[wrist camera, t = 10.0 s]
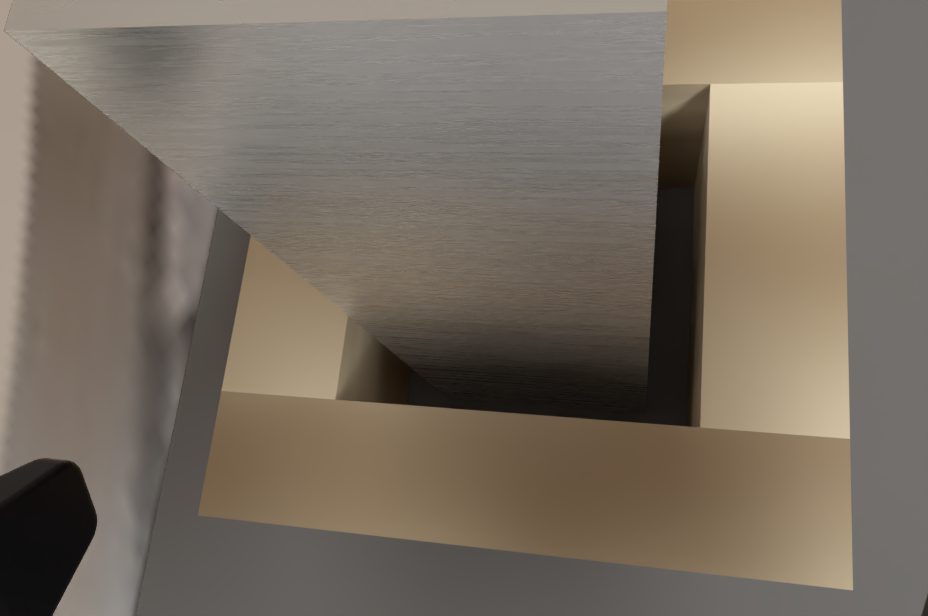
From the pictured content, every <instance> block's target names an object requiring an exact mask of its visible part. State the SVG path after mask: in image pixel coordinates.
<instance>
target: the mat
mask: <svg viewBox="0 0 928 616" xmlns="http://www.w3.org/2000/svg"><path fill="white" fill-rule="evenodd" d="M841 8H842V58H843V108H844V159H845V209H846V260H847V310H848V361H849V411H850V461H851V512H852V562H853V590H845V589H836V588H827V587H818V586H810V585H801V584H792V583H783V582H775V581H766V580H757V579H748V578H740V577H731V576H722V575H714V574H705V573H696V572H687V571H679V570H670V569H661V568H652V567H644V566H635V565H626V564H618V563H609V562H600V561H591V560H583V559H574V558H565V557H556V556H548V555H539V554H530V553H521V552H513V551H504V550H495V549H487V548H478V547H469V546H460V545H452V544H443V543H434V542H425V541H417V540H408V539H399V538H390V537H382V536H373V535H364V534H356V533H347V532H338V531H329V530H321V529H312V528H303V527H294V526H286V525H277V524H268V523H259V522H251V521H242V520H233V519H225V518H216V517H207V516H198V511H199V506H200V501H201V496H202V490H203V485H204V480H205V475H206V469H207V464H208V459H209V453H210V448H211V443H212V438H213V432H214V427H215V422H216V417H217V411H218V406H219V401H220V395H221V390H222V385H223V380H224V374H225V369H226V364H227V359H228V353H229V348H230V343H231V337H232V332H233V327H234V322H235V316H236V311H237V306H238V301H239V295H240V290H241V285H242V279H243V274H244V269H245V264H246V258H247V253H248V248H249V243H250V237H251V235H250V234H249V233H248V232H246V231H245V230H244V229H243V228H242V227H240V226H239V225H238V224H237V223H235V222H234V221H233V220H232V219H231V218H229V217H228V216H227V215H226V214H225V213H223V212H222V211H221V210H220V209H219V208H218V213H217V218H216V223H215V227H214V232H213V237H212V242H211V247H210V252H209V257H208V262H207V267H206V272H205V277H204V282H203V287H202V292H201V296H200V301H199V306H198V311H197V316H196V321H195V326H194V331H193V336H192V341H191V346H190V351H189V356H188V360H187V365H186V370H185V375H184V380H183V385H182V390H181V395H180V400H179V405H178V410H177V415H176V420H175V424H174V429H173V434H172V439H171V444H170V449H169V454H168V459H167V464H166V469H165V474H164V479H163V484H162V489H161V493H160V498H159V503H158V508H157V513H156V518H155V523H154V528H153V533H152V538H151V543H150V548H149V553H148V557H147V562H146V567H145V572H144V577H143V582H142V587H141V592H140V597H139V602H138V607H137V612H136V616H921V614H922V611H923V607H924V604H925V600H926V597H927V593H928V0H841ZM693 216H694V188H657V207H656V226H655V245H654V264H653V283H652V302H651V321H650V340H649V359H648V378H647V396H646V413H641V412H628V411H615V410H602V409H590V408H577V407H564V406H551V405H538V404H526V403H513V402H500V401H487V400H475V399H462V398H449V397H446V396H445V395H443V394H442V393H441V392H440V391H439V390H437V389H436V388H435V387H434V386H432V385H431V384H430V383H429V382H428V381H426V380H425V379H424V378H423V377H422V376H420V375H419V374H418V373H417V372H416V371H414V370H413V369H411V377H410V385H409V393H408V400H407V405H412V406H425V407H438V408H451V409H465V410H478V411H491V412H504V413H517V414H530V415H543V416H556V417H569V418H582V419H596V420H609V421H622V422H635V423H648V424H661V425H674V426H686V421H687V392H688V362H689V333H690V304H691V274H692V245H693Z"/></svg>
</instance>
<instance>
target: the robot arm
mask: <svg viewBox="0 0 928 616" xmlns="http://www.w3.org/2000/svg"><path fill="white" fill-rule="evenodd" d="M96 526H97V515H96V511H95V508H94V505H93V503H92V500H91V497H90V494H89V491H88V489H87V486H86V483H85V480H84V477H83V475H82V472H81V470H80V468H79V467H78V466H77V465H76V464H75V463H74V462H71V461H67V460H58V459H49V458H41V459H37V460H34V461H32V462H30V463H27V464H25V465H23V466H21V467H19V468H17V469H14V470H12V471H10V472H8V473H6V474H4V475H1V476H0V616H52V615H53V613H54V611H55V609H56V608H57V606H58V604H59V602H60V600H61V598H62V596H63V594H64V592H65V590H66V588H67V587H68V585H69V583H70V581H71V579H72V577H73V575H74V573H75V571H76V569H77V567H78V566H79V564H80V562H81V560H82V558H83V556H84V554H85V552H86V550H87V548H88V546H89V545H90V543H91V541H92V539H93V537H94V534H95V531H96ZM921 616H928V593H927V597H926V600H925V604H924V607H923V611H922V614H921Z"/></svg>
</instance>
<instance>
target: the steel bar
mask: <svg viewBox="0 0 928 616" xmlns="http://www.w3.org/2000/svg"><path fill="white" fill-rule="evenodd" d="M666 17H667V0H13V2H12V5H11V8H10V12H9V15H8V18H7V22H6V25H5V28H4V31H5V32H6V33H7V34H8V35H9V36H11V37H12V38H13V39H14V40H16V41H17V42H18V43H19V44H20V45H22V46H23V47H24V48H25V49H26V50H28V51H29V52H30V53H31V54H32V55H34V56H35V57H36V58H37V59H38V60H40V61H41V62H42V63H43V64H44V65H46V66H47V67H48V68H49V69H51V70H52V71H53V72H54V73H55V74H57V75H58V76H59V77H60V78H61V79H63V80H64V81H65V82H66V83H67V84H69V85H70V86H71V87H72V88H74V89H75V90H76V91H77V92H78V93H80V94H81V95H82V96H83V97H84V98H86V99H87V100H88V101H89V102H90V103H92V104H93V105H94V106H95V107H96V108H98V109H99V110H100V111H101V112H103V113H104V114H105V115H106V116H107V117H109V118H110V119H111V120H112V121H113V122H115V123H116V124H117V125H118V126H119V127H121V128H122V129H123V130H124V131H125V132H127V133H128V134H129V135H130V136H132V137H133V138H134V139H135V140H136V141H138V142H139V143H140V144H141V145H142V146H144V147H145V148H146V149H147V150H148V151H150V152H151V153H152V154H153V155H154V156H156V157H157V158H158V159H159V160H161V161H162V162H163V163H164V164H165V165H167V166H168V167H169V168H170V169H171V170H173V171H174V172H175V173H176V174H177V175H179V176H180V177H181V178H182V179H183V180H185V181H186V182H187V183H188V184H190V185H191V186H192V187H193V188H194V189H196V190H197V191H198V192H199V193H200V194H202V195H203V196H204V197H205V198H206V199H208V200H209V201H210V202H211V203H213V204H214V205H215V206H216V207H217V208H219V209H220V210H221V211H222V212H223V213H225V214H226V215H227V216H228V217H229V218H231V219H232V220H233V221H234V222H235V223H237V224H238V225H239V226H240V227H242V228H243V229H244V230H245V231H246V232H248V233H249V234H250V235H251V236H252V237H254V238H255V239H256V240H257V241H258V242H260V243H261V244H262V245H263V246H264V247H266V248H267V249H268V250H269V251H271V252H272V253H273V254H274V255H275V256H277V257H278V258H279V259H280V260H281V261H283V262H284V263H285V264H286V265H287V266H289V267H290V268H291V269H292V270H293V271H295V272H296V273H297V274H298V275H300V276H301V277H302V278H303V279H304V280H306V281H307V282H308V283H309V284H310V285H312V286H313V287H314V288H315V289H316V290H318V291H319V292H320V293H321V294H323V295H324V296H325V297H326V298H327V299H329V300H330V301H331V302H332V303H333V304H335V305H336V306H337V307H338V308H339V309H341V310H342V311H343V312H344V313H345V314H347V315H348V316H349V317H350V318H352V319H353V320H354V321H355V322H356V323H358V324H359V325H360V326H361V327H362V328H364V329H365V330H366V331H367V332H368V333H370V334H371V335H372V336H373V337H374V338H376V339H377V340H378V341H379V342H381V343H382V344H383V345H384V346H385V347H387V348H388V349H389V350H390V351H391V352H393V353H394V354H395V355H396V356H397V357H399V358H400V359H401V360H402V361H403V362H405V363H406V364H407V365H408V366H410V367H411V368H412V369H413V370H414V371H416V372H417V373H418V374H419V375H420V376H422V377H423V378H424V379H425V380H426V381H428V382H429V383H430V384H431V385H432V386H434V387H435V388H436V389H437V390H439V391H440V392H441V393H442V394H443V395H445V396H446V397H449V398H462V399H475V400H487V401H500V402H513V403H526V404H538V405H551V406H564V407H577V408H590V409H602V410H615V411H628V412H641V413H646V396H647V378H648V359H649V340H650V321H651V302H652V283H653V264H654V245H655V226H656V207H657V188H658V169H659V150H660V131H661V112H662V93H663V74H664V55H665V36H666Z"/></svg>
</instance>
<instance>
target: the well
mask: <svg viewBox="0 0 928 616" xmlns="http://www.w3.org/2000/svg"><path fill="white" fill-rule="evenodd" d="M658 188H694V216H693V245H692V274H691V304H690V333H689V362H688V392H687V421H686V426H674V425H661V424H648V423H635V422H622V421H609V420H596V419H582V418H569V417H556V416H543V415H530V414H517V413H504V412H491V411H478V410H465V409H451V408H438V407H425V406H412V405H407V400H408V393H409V385H410V377H411V369H412V368H411V367H410V366H408V365H407V364H406V363H405V362H403V361H402V360H401V359H400V358H399V357H397V356H396V355H395V354H394V353H393V352H391V351H390V350H389V349H388V348H387V347H385V346H384V345H383V344H382V343H381V342H379V341H378V340H377V339H376V338H374V337H373V336H372V335H371V334H370V333H368V332H367V331H366V330H365V329H364V328H362V327H361V326H360V325H359V324H358V323H356V322H355V321H354V320H353V319H352V318H350V317H349V316H348V315H347V314H345V313H344V312H343V311H342V310H341V309H339V308H338V307H337V306H336V305H335V304H333V303H332V302H331V301H330V300H329V299H327V298H326V297H325V296H324V295H323V294H321V293H320V292H319V291H318V290H316V289H315V288H314V287H313V286H312V285H310V284H309V283H308V282H307V281H306V280H304V279H303V278H302V277H301V276H300V275H298V274H297V273H296V272H295V271H293V270H292V269H291V268H290V267H289V266H287V265H286V264H285V263H284V262H283V261H281V260H280V259H279V258H278V257H277V256H275V255H274V254H273V253H272V252H271V251H269V250H268V249H267V248H266V247H264V246H263V245H262V244H261V243H260V242H258V241H257V240H256V239H255V238H254V237H252V236H251V237H250V243H249V248H248V253H247V258H246V264H245V269H244V274H243V279H242V285H241V290H240V295H239V301H238V306H237V311H236V316H235V322H234V327H233V332H232V337H231V343H230V348H229V353H228V359H227V364H226V369H225V374H224V380H223V385H222V390H221V395H220V401H219V406H218V411H217V417H216V422H215V427H214V432H213V438H212V443H211V448H210V453H209V459H208V464H207V469H206V475H205V480H204V485H203V490H202V496H201V501H200V506H199V511H198V516H207V517H216V518H225V519H233V520H242V521H251V522H259V523H268V524H277V525H286V526H294V527H303V528H312V529H321V530H329V531H338V532H347V533H356V534H364V535H373V536H382V537H390V538H399V539H408V540H417V541H425V542H434V543H443V544H452V545H460V546H469V547H478V548H487V549H495V550H504V551H513V552H521V553H530V554H539V555H548V556H556V557H565V558H574V559H583V560H591V561H600V562H609V563H618V564H626V565H635V566H644V567H652V568H661V569H670V570H679V571H687V572H696V573H705V574H714V575H722V576H731V577H740V578H748V579H757V580H766V581H775V582H783V583H792V584H801V585H810V586H818V587H827V588H836V589H845V590H853V562H852V512H851V461H850V411H849V361H848V310H847V260H846V209H845V159H844V108H843V58H842V8H841V0H667V17H666V36H665V55H664V74H663V93H662V112H661V131H660V150H659V169H658Z"/></svg>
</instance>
